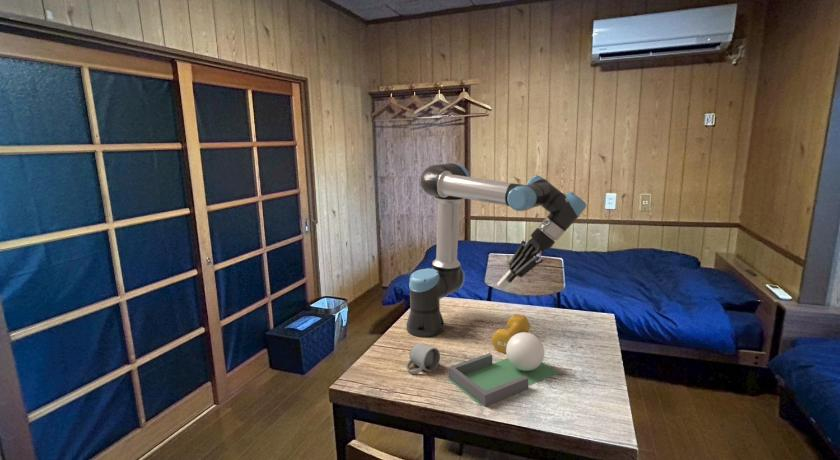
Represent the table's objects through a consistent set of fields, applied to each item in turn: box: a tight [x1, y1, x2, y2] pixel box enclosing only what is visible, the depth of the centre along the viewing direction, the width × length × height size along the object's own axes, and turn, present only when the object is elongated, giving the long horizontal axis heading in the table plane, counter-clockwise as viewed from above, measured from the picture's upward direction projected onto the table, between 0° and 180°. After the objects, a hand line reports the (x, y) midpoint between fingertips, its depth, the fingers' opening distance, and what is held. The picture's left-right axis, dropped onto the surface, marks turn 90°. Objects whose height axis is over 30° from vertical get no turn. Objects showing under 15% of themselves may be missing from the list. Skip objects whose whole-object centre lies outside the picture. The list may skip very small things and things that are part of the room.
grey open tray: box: [447, 353, 529, 407], centre depth 131 cm, size 18×16×4 cm
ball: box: [505, 332, 545, 371], centre depth 138 cm, size 12×12×12 cm
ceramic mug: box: [406, 342, 441, 375], centre depth 141 cm, size 11×8×8 cm
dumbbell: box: [491, 314, 532, 354], centre depth 156 cm, size 19×9×8 cm, turn 147°
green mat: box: [448, 358, 560, 407], centre depth 135 cm, size 16×32×1 cm, turn 121°
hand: (500, 286), depth 146 cm, fingers closed
